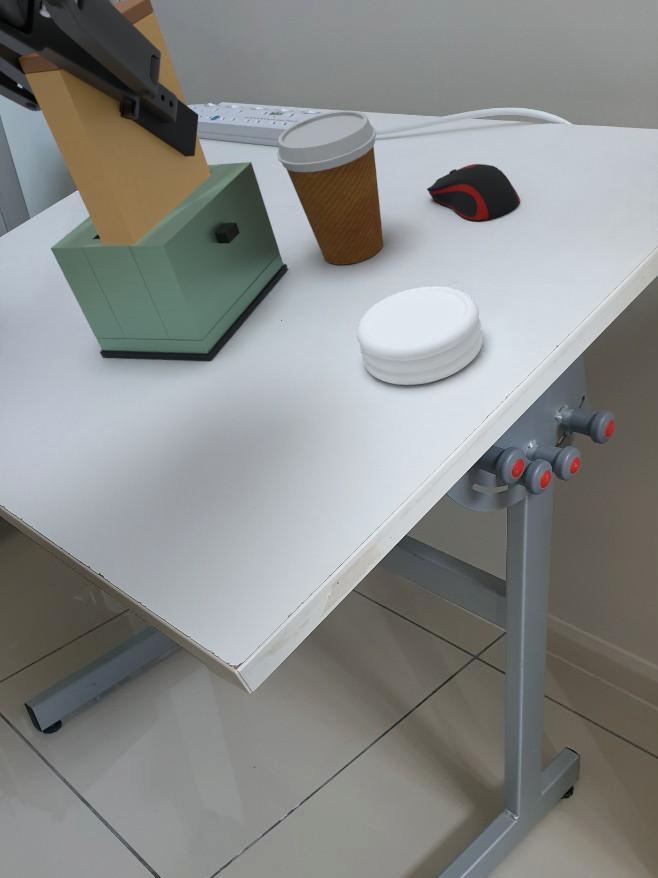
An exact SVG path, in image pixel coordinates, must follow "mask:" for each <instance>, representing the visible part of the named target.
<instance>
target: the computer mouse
mask: <svg viewBox="0 0 658 878" xmlns="http://www.w3.org/2000/svg"><path fill="white" fill-rule="evenodd" d="M426 190H427V191H428V194H429V195H430V197H431V198H432V199H433V201H435V202H436V203H438V204H440V205H442V206H444V207H447V208H450V209H452V210H453V211H454V212H455V213H456V215H458V216H459V217H461V218H463V219H466V220H467V221H468V220H469V221H473V222H481V221H482V222H483V221H489V220H493V219H496V218H498V217H501V216H504V215H506V214H507V213H510V212H511V211H513V210H514V209H516V207H518V206H519V203H520V202H521V198H520V196H519V193H518V192H517V190H516V189H515V188H514V186H513V184H512V183H511V181H510V179H509V178H508V176H507V175H506V174H505V173H504V172H503V171H502V170H501V169H500V168H498V167H497V166H494V165H490V164H483V163H475V164H469V165H466V166H463V167H461V168H458V169H452V170H450V171H449V173H448V174H446V175H444V176H442V177H440V178H438V179H436V181H435V182H434V183H433V184H432V185H431V186H429V187H428V188H426Z"/></svg>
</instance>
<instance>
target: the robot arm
mask: <svg viewBox="0 0 658 878" xmlns="http://www.w3.org/2000/svg"><path fill="white" fill-rule="evenodd" d="M33 53H36V54H38V55H40V56H41V57H43V58H45V59H46V60H48V61H50V62H52V63H53V64H55V65H57V66H58V67H60V68H62V69H63V70H65V71H67V72H69V73H70V74H72V75H74V76H75V77H77V78H79V79H80V80H82V81H84V82H86V83H87V84H89V85H91V86H92V87H94V88H96V89H97V90H99V91H101V92H103V93H104V94H106V95H108V96H109V97H111V98H113V99H115V100H116V101H118V102H120V110H119V112H120V113H121V115H120V117H122V118H125V119H129V120H132V121H134V122H135V123H137V124H138V125H140V126H141V127H143V128H144V129H146V130H147V131H149V132H150V133H152V134H153V135H155V136H156V137H157V138H159V139H160V140H162V141H163V142H165V143H166V144H168V145H169V146H171V147H172V148H174V149H175V150H177V151H178V152H180V153H181V154H183V155H184V156H186V157H187V156H195V147H196V137H197V136H198V126H199V125H198V124H199V114H198V112H195V110H193V109H192V108H191V107H189V106H188V105H187V106H186V105H185V104H184V103H182V102H181V101H180V100H179V99H178V98H177V97H176V95H175V94H173V93H172V92H171V91H169V90H168V89H167V88H165V87H164V86H163V85H162V84H160V83H159V72H160V59H161V52H160V51H159V50H158V49H157V48H156V47H155V46H154V45H153V44H152V43H151V42H150V41H149V40H148V39H147V38H146V37H145V36H144V35H143V34H142V33H141V32H140V31H139V30H138V29H137V28H136V27H135V26H134V25H133V24H132V23H131V22H130V21H129V20H128V19H127V18H126V17H124V16H123V15H122V14H121V13H120V12H119V11H118V10H117V9H116V8H115V7H114V6H113V3H112V2H110V0H0V96H2V97H4V98H6V99H7V100H9V101H11V102H13V103H14V104H17V105H19V106H21V107H23V108H24V109H26V110H29V111H32V112H40V111H41V108H40V106H39V104H38V102H37V100H36V97H35V95H34V93H33V91H32V89H31V87H30V84H29V82H28V80H27V78H26V76H25V74H26V73H25V72H24V71H23V68H22V66H21V64H20V62H19V58H20V57H21V56H25V55H29V54H33ZM19 85H20V86H21V87H20V86H19Z"/></svg>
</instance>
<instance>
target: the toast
mask: <svg viewBox="0 0 658 878" xmlns="http://www.w3.org/2000/svg"><path fill="white" fill-rule="evenodd" d="M112 5H113V6H114V7H115V8H116V9H117V10H118V11H119V12H120V13H121V14H122V15H123V16H124V17H126V18H127V19H128V20H129V21H130V22H131V23H132V24H133V25H134V26H135V27H136V28H137V29H138V30H139V31H140V32H141V33H142V34H143V35H144V36H145V37H146V38H147V39H148V40H149V41H150V42H151V43H152V44H153V45H154V46H155V47H156V48H157V49H158V50H159V51H160V52H161V59H160V72H159V83H160V84H162V85H163V86H164V87H165V88H167V89H168V90H169V91H171V92H172V93H173V94H175V95H176V97H177V98H178V99H179V100H180V101H181V102H182V103H184V104H185V105H186V106H188V105H187V102H186V99H185V95H184V93H183V90H182V87H181V85H180V81H179V79H178V76H177V73H176V69H175V67H174V64H173V62H172V58H171V55H170V52H169V50H168V47H167V44H166V41H165V38H164V35H163V33H162V29H161V27H160V24H159V21H158V18H157V15H156V12H155V11H154V7H153V4H152V2H151V0H121V1H120V0H119V1H116V2H114V3H112ZM19 62H20V64H21V66H22V68H23V71H24V72H25V73H26V74H25V76H26V78H27V80H28V82H29V84H30V87H31V89H32V91H33V93H34V95H35V97H36V100H37V102H38V104H39V106H40V108H41V110H40V111H41V113H42V115H43V118H44V119H45V122H46V123H47V126H48V128H49V130H50V133H51V135H52V137H53V139H54V141H55V143H56V146H57V148H58V149H59V152H60V154H61V157H62V158H63V161H64V163H65V165H66V168H67V169H68V172H69V174H70V176H71V178H72V181H73V183H74V184H75V187H76V189H77V191H78V193H79V196H80V198H81V200H82V202H83V204H84V206H85V209H86V211H87V213H88V216H90V217H91V220H92V222H93V224H94V226H95V228H96V230H97V233H98V235H99V237H100V239H101V241H102V243H103V245H134V244H136V243H137V242H138V241H139V240H140V239H141V238H142V237H143V236H144V235H146V234H147V233H148V232H149V231H150V230H151V229H152V228H153V227H154V226H155V225H157V224H158V223H159V222H160V221H161V220H162V219H163V218H164V217H165V216H166V215H168V214H169V213H170V212H171V211H172V210H173V209H174V208H175V207H176V206H178V205H179V204H180V203H181V202H182V201H183V200H184V199H185V198H186V197H187V196H189V195H190V194H191V193H192V192H193V191H194V190H195V189H196V188H197V187H198V186H200V185H201V184H202V183H203V182H204V181H205V180H206V179H207V178H208V177H209V176H211V173H210V170H209V167H208V165H209V164H208V162H207V159H206V156H205V153H204V150H203V147H202V145H201V142H200V139H199V135H197V137H196V147H195V156H187V157H186V156H184V155H183V154H181V153H180V152H178V151H177V150H175V149H174V148H172V147H171V146H169V145H168V144H166V143H165V142H163V141H162V140H160V139H159V138H157V137H156V136H155V135H153V134H152V133H150V132H149V131H147V130H146V129H144V128H143V127H141V126H140V125H138V124H137V123H135V122H134V121H132V120H129V119H125V118H122V117H120V115H121V113H120V112H119V110H120V102H118V101H116V100H115V99H113V98H111V97H109V96H108V95H106V94H104V93H103V92H101V91H99V90H97V89H96V88H94V87H92V86H91V85H89V84H87V83H86V82H84V81H82V80H80V79H79V78H77V77H75V76H74V75H72V74H70V73H69V72H67V71H65V70H63V69H62V68H60V67H58V66H57V65H55V64H53V63H52V62H50V61H48V60H46V59H45V58H43V57H41V56H40V55H38V54H36V53H33V54H29V55H25V56H21V57H20V58H19Z"/></svg>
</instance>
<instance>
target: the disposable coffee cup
mask: <svg viewBox="0 0 658 878" xmlns="http://www.w3.org/2000/svg"><path fill="white" fill-rule="evenodd" d="M376 136H377V130H376V128H375V127H374V126H373V125H372V124H371V122H370V120H369V117H368V115H366V114H365V113H364V112H362V111H357V110H338V111H337V110H336V111H330V112H325V113H322V114H316V115H313V116H310V117H308V118H305V119H302V120H300V121H298V122H295V123H294V124H292V125H290V126H289V127H287V128H286V129H284V131H282V132H281V133H280V134H279V136H278V138H277V144H278V151H277V153H276V156H277V160H278V161H279V162H280V163H281V164H282V167H283V168H285V169H286V171H287V174H288V176H289V178H290V181H291V183H292V186H293V188H294V190H295V193H296V195H297V197H298V200H299V203H300V204H301V207H302V209H303V211H304V214H305V217H306V219H307V221H308V223H309V226H310V228H311V231H312V233H313V235H314V238H315V240H316V243H317V244H318V247H319V250H320V252H321V254H322V256H323V260H324V261H325V262H326V263H328V264H331V265H332V264H333V265H339V266H340V265H341V266H342V265H352V264H356V263H358V262H362V261H366V260H367V259H370V258H371V257H374V256H375V255H376V254H377V253H379V252H380V251H381V250H382V248H383V247H384V237H383V235H384V234H383V228H382V227H383V226H382V225H383V224H382V216H381V207H380V206H381V205H380V196H379V195H380V194H379V188H378V187H379V185H378V177H377V176H378V175H377V166H376V165H377V164H376V157H375V156H376V155H375V144H376V141H375V139H376Z"/></svg>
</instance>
